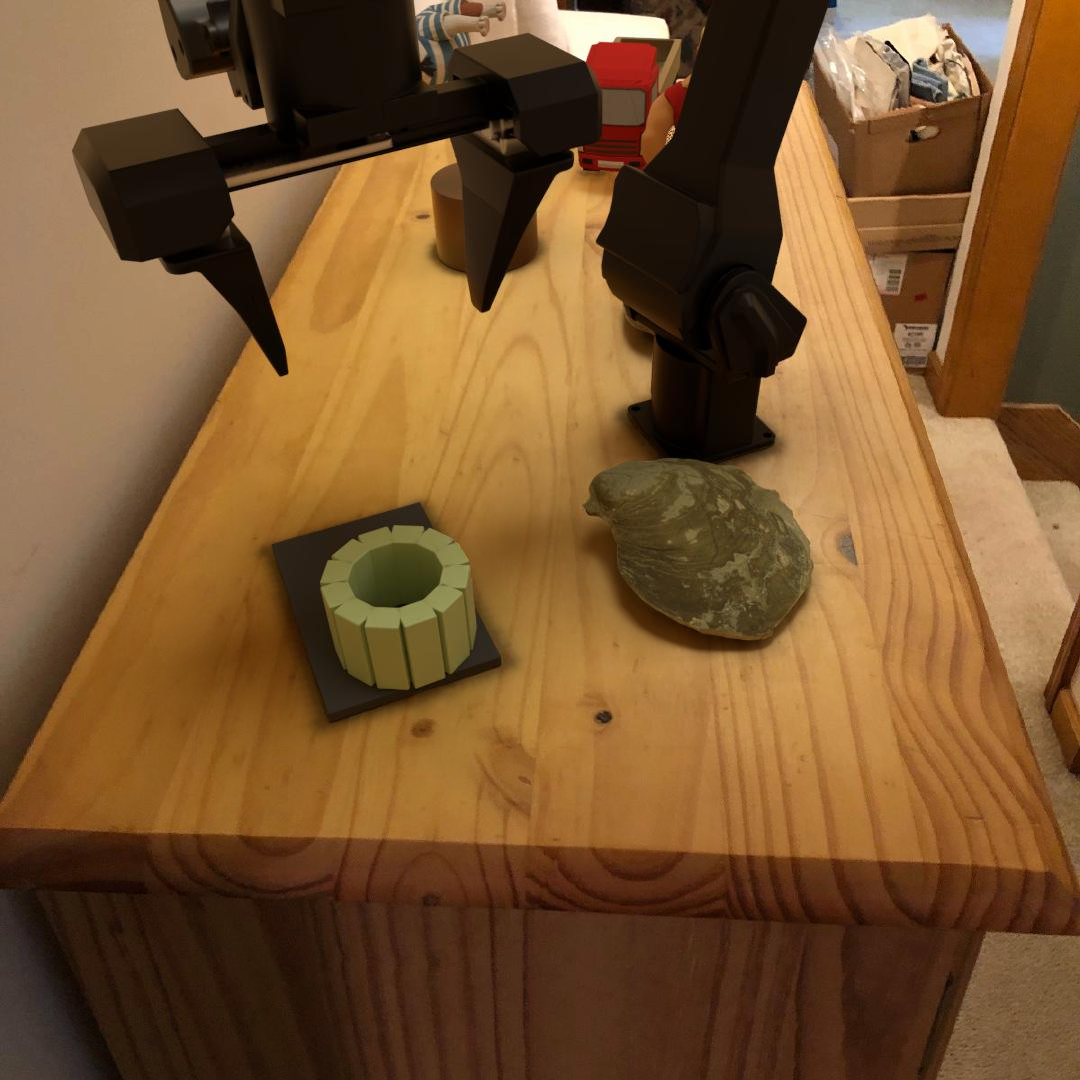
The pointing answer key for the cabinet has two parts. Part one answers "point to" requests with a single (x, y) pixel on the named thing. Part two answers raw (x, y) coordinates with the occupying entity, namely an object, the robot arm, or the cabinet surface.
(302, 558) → the pad
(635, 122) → the toy truck
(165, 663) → the cabinet surface
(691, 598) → the seashell
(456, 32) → the figurine
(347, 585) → the ring
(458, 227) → the stand
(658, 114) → the action figure
